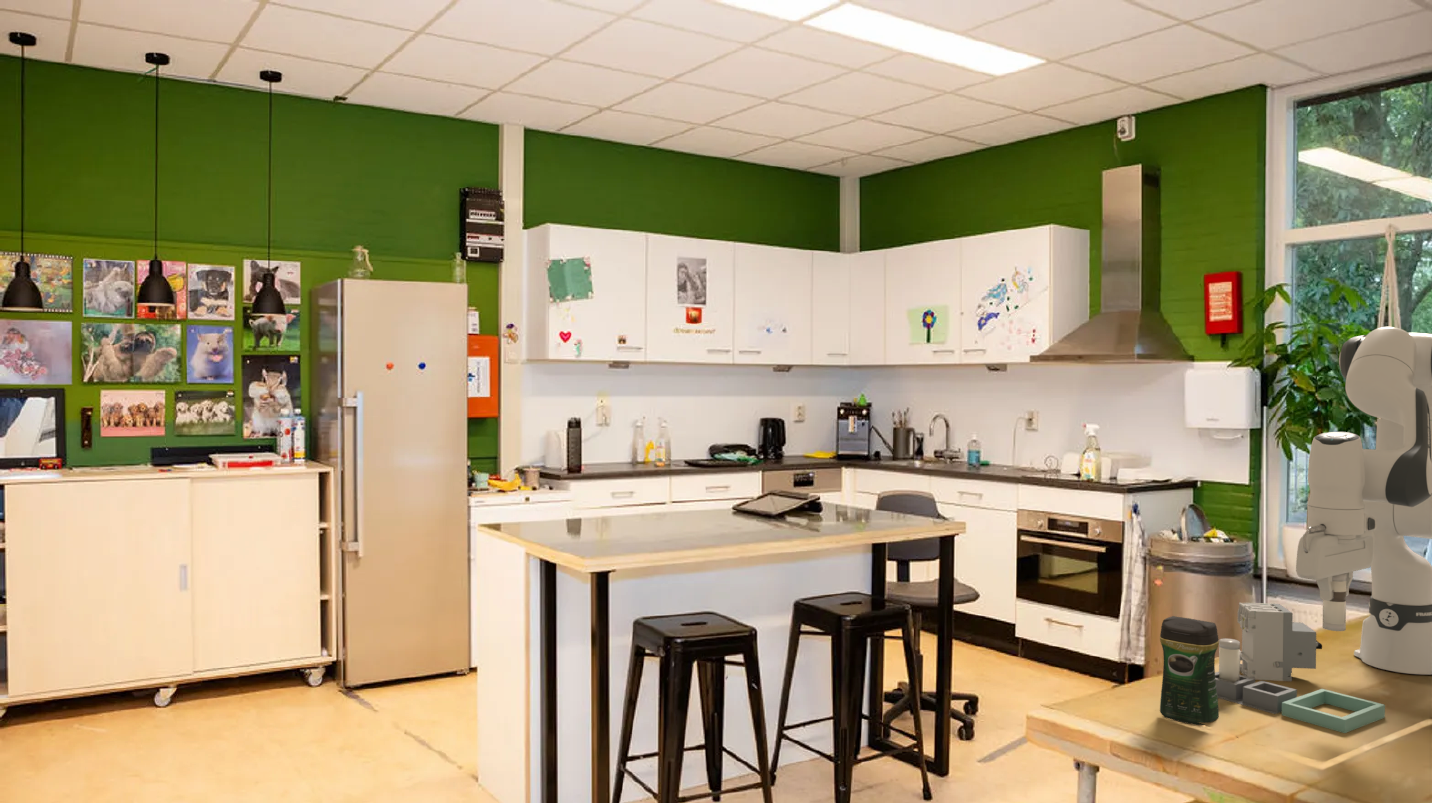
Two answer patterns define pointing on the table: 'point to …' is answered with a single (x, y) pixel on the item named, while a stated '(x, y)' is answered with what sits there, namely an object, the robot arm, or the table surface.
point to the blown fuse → (1336, 605)
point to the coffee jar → (1189, 670)
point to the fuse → (1229, 660)
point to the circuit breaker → (1274, 642)
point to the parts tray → (1301, 711)
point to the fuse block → (1254, 693)
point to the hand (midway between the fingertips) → (1334, 598)
